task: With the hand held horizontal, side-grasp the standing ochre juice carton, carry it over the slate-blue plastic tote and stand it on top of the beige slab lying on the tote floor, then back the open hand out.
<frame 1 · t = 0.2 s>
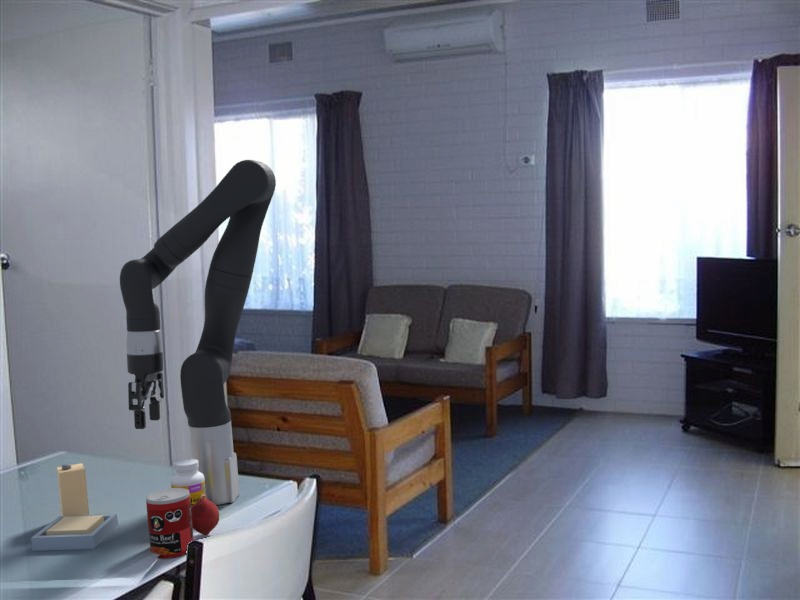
hand: (147, 424, 196), 18 cm above the table, tool pointing down, fingers open, 8 cm apart
beige slab: (76, 538, 174), point 1 cm above the table, touching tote
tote: (77, 543, 174), on the table
carton: (76, 524, 186), on the table
canned food: (172, 552, 167), on the table
supplement bottle: (191, 524, 182), on the table
onion: (205, 536, 175), on the table
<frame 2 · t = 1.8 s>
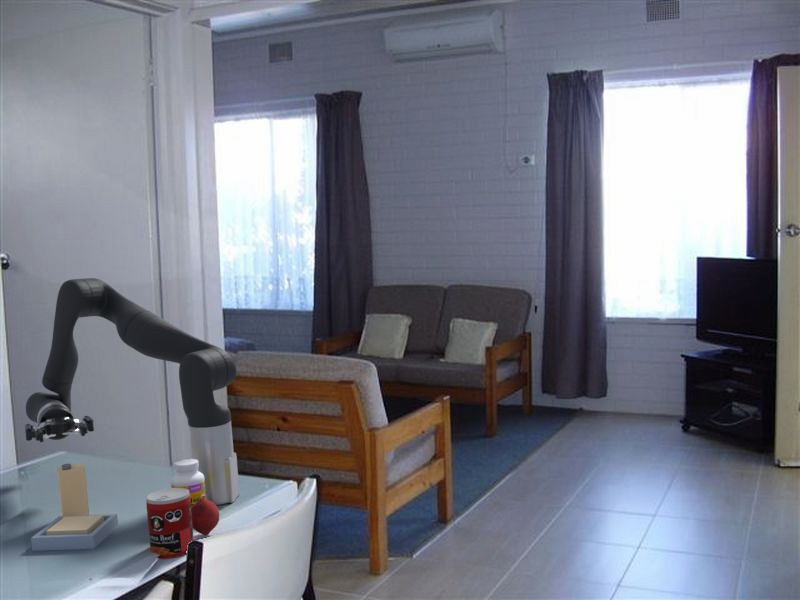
hand: (62, 434, 194), 17 cm above the table, tool horizontal, fingers open, 8 cm apart
nothing on the table moved.
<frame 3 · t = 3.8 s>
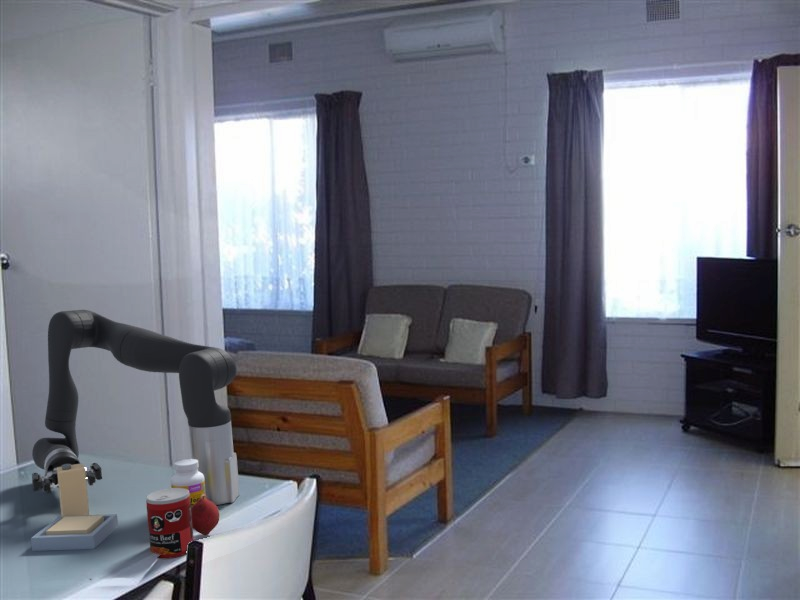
hand: (70, 484, 190), 7 cm above the table, tool horizontal, fingers open, 8 cm apart
nothing on the table moved.
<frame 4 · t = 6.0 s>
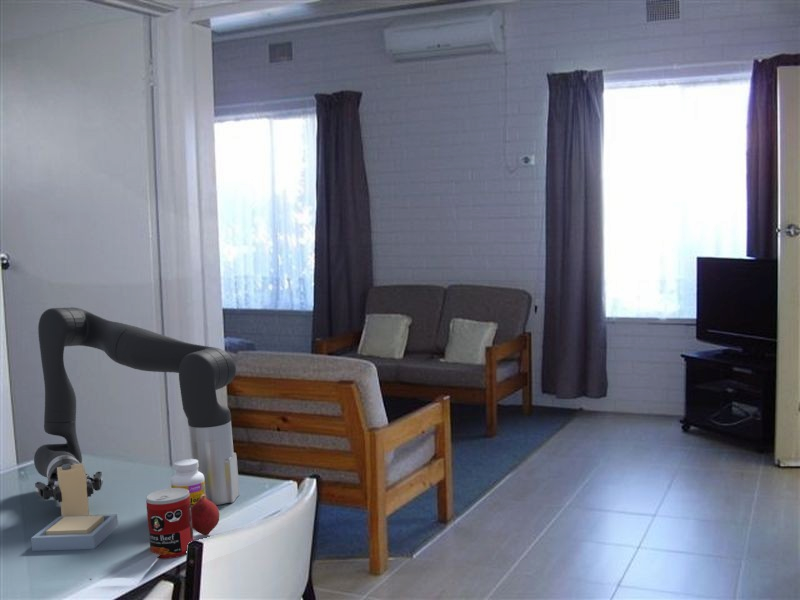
hand: (74, 494, 183), 7 cm above the table, tool horizontal, fingers closed on carton, 5 cm apart
carton: (76, 524, 186), on the table, touching gripper
everything else where it was.
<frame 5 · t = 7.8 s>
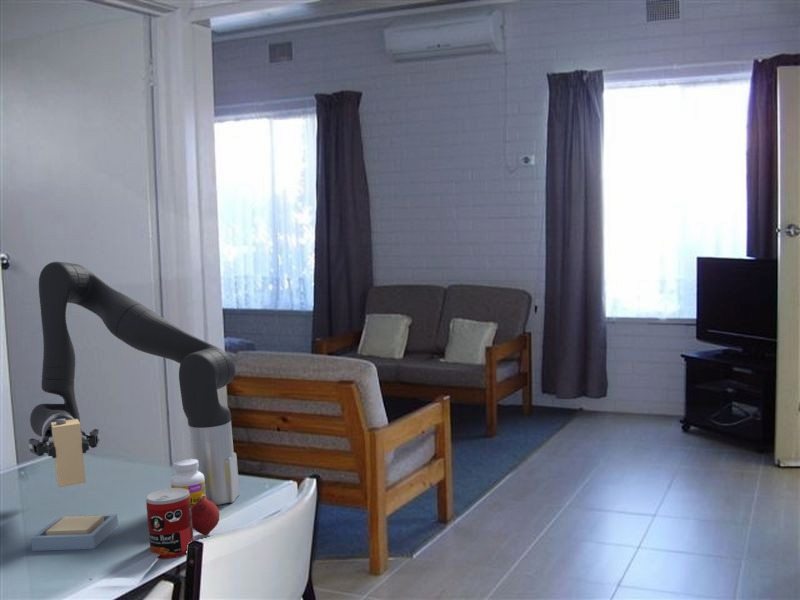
hand: (69, 450, 175), 18 cm above the table, tool horizontal, fingers closed on carton, 5 cm apart
carton: (71, 481, 178), point 11 cm above the table, touching gripper
everything else where it was.
when the fingers open (12 cm above the table, at t = 9.9 s): carton stays where it is, resting on beige slab.
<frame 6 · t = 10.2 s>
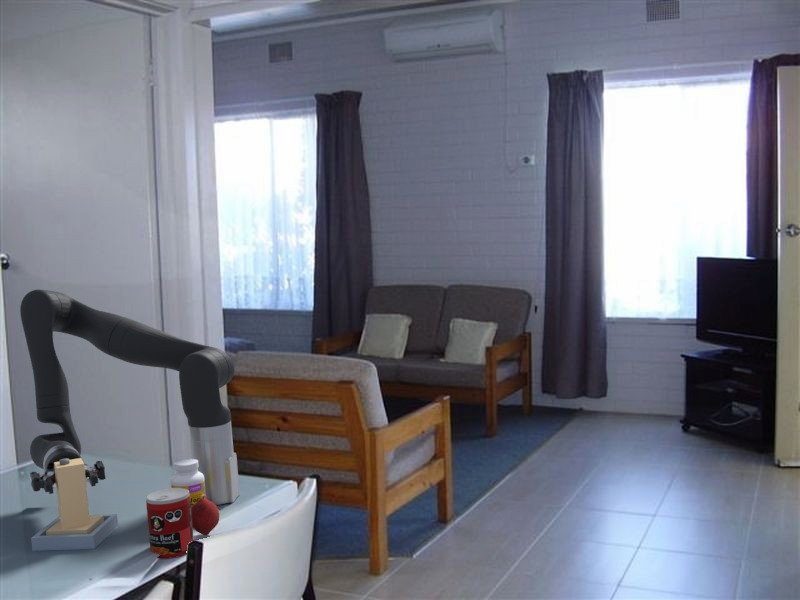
hand: (72, 484, 171), 12 cm above the table, tool horizontal, fingers open, 7 cm apart
beige slab: (76, 538, 174), point 1 cm above the table, touching carton, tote
carton: (74, 523, 174), point 4 cm above the table, touching beige slab
everything else where it was.
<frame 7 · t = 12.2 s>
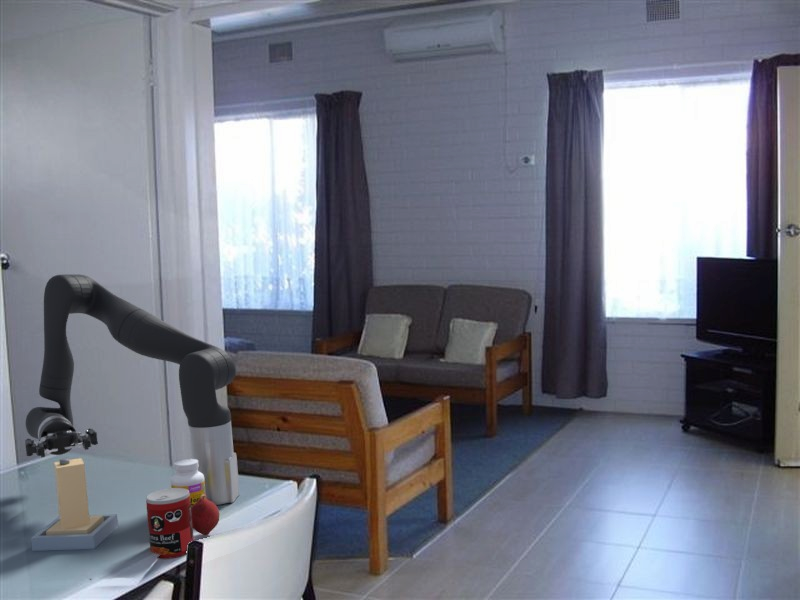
hand: (64, 448, 184), 16 cm above the table, tool horizontal, fingers open, 8 cm apart
nothing on the table moved.
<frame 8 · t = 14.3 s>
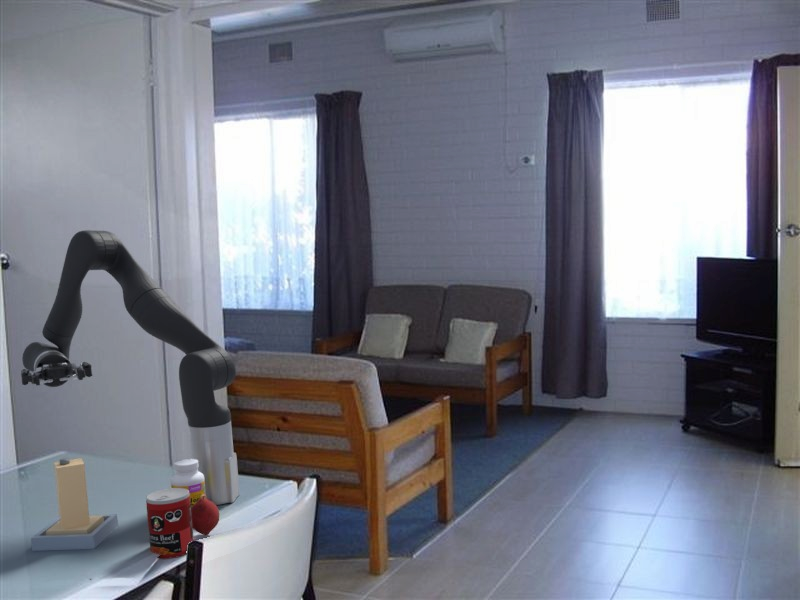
hand: (59, 377, 188), 30 cm above the table, tool horizontal, fingers open, 8 cm apart
nothing on the table moved.
at the end: carton 0.1 cm off-centre on the beige slab, point 3.0 cm above the beige slab's base; carton tilted 0°; the gripper is holding nothing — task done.
